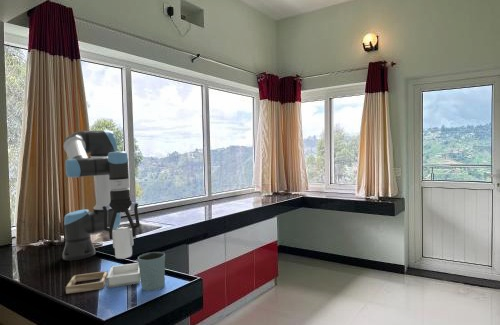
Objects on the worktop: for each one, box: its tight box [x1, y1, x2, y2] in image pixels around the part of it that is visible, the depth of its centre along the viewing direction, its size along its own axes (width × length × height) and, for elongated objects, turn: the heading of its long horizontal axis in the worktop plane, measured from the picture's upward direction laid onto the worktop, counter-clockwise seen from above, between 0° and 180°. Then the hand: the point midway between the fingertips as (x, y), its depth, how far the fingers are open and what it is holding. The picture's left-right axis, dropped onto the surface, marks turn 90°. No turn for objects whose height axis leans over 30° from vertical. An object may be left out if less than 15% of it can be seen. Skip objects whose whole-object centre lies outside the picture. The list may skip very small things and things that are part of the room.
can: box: [114, 225, 133, 260], centre depth 136 cm, size 6×6×12 cm
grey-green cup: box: [137, 251, 166, 292], centre depth 128 cm, size 10×10×12 cm
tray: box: [106, 262, 141, 289], centre depth 137 cm, size 14×12×4 cm
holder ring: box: [65, 270, 109, 295], centre depth 133 cm, size 13×13×2 cm
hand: (123, 245), depth 136 cm, fingers closed on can, 6 cm apart
